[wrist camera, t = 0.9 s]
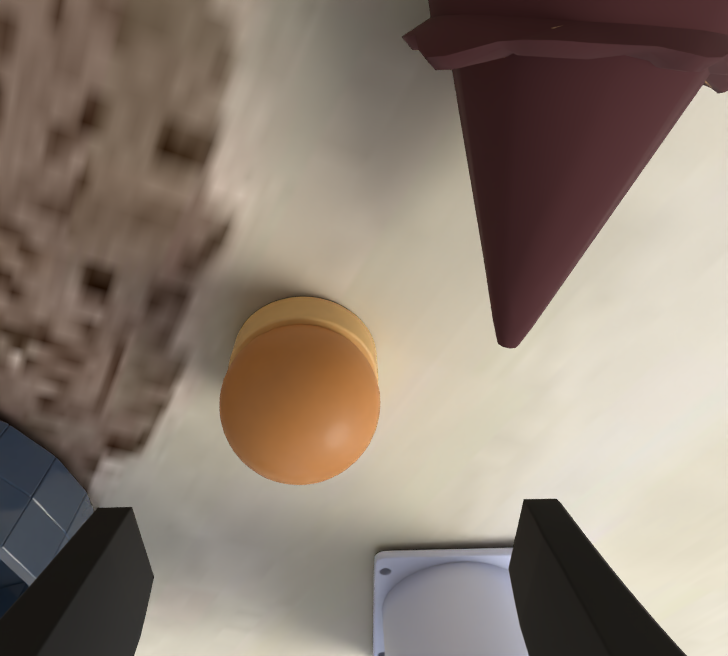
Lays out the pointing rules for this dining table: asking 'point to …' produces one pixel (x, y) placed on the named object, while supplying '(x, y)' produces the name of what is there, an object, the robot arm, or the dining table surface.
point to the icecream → (563, 121)
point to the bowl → (33, 511)
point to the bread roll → (301, 391)
